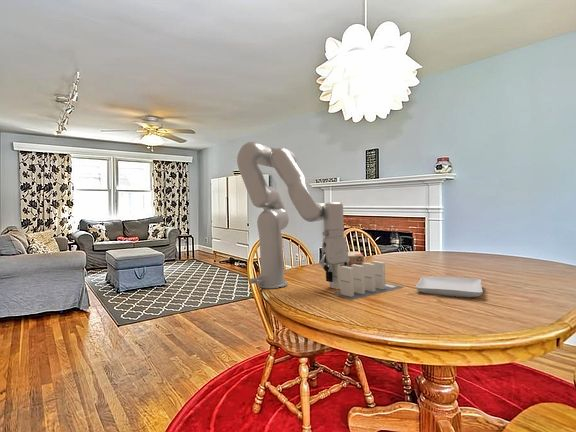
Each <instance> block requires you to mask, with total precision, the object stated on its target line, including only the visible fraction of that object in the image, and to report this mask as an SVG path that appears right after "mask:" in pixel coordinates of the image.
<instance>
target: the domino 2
mask: <svg viewBox="0 0 576 432" xmlns="http://www.w3.org/2000/svg"><path fill="white" fill-rule="evenodd" d="M340 277H341V289H340V291H341V294H343V295H346V296H350V297H352V296H354V277H353V268H351V267H346V266H341V267H340Z"/></svg>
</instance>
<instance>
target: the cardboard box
mask: <svg viewBox="0 0 576 432" xmlns="http://www.w3.org/2000/svg"><path fill="white" fill-rule="evenodd" d="M348 258H349V259H350V260H349V262H348V263H347V265H346V267H351V265H353V264H356V265H362V263H365V256H364V255H363V253H361V252H359V251H348Z"/></svg>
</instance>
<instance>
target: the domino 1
mask: <svg viewBox="0 0 576 432" xmlns="http://www.w3.org/2000/svg"><path fill="white" fill-rule="evenodd" d="M340 267H341V264H332V269H331V272H332V273H333V282H328V284H329V288H332V289H336V290H341V277H340Z"/></svg>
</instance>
